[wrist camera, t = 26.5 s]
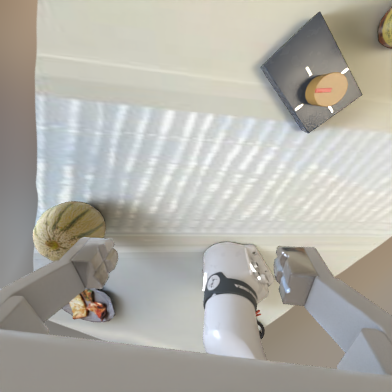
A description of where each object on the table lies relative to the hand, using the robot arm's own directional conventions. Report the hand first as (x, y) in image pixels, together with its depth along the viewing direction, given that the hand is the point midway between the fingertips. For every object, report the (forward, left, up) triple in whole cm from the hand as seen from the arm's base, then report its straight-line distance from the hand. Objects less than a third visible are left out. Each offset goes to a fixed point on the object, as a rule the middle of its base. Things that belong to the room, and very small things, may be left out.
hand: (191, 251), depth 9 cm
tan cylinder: (-6, -17, -30) cm, 35 cm away
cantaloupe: (+6, +40, -33) cm, 52 cm away
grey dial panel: (-4, -17, -33) cm, 38 cm away
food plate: (-15, +77, -33) cm, 85 cm away
